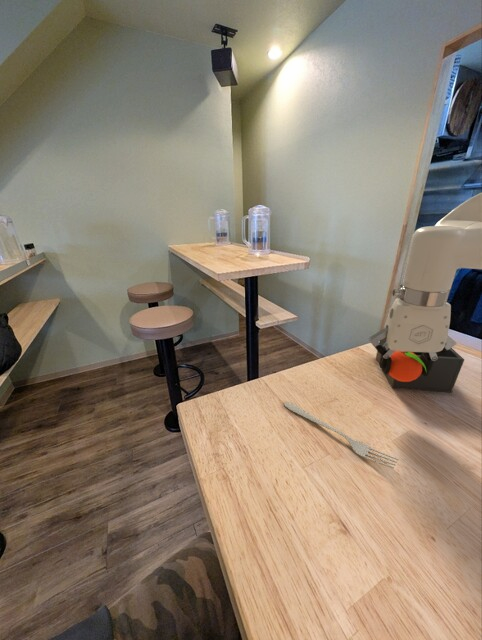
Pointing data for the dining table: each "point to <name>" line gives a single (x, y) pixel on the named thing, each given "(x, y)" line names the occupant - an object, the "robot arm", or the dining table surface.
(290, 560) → the dining table surface
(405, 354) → the clementine
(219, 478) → the dining table surface
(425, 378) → the bin
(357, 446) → the fork
